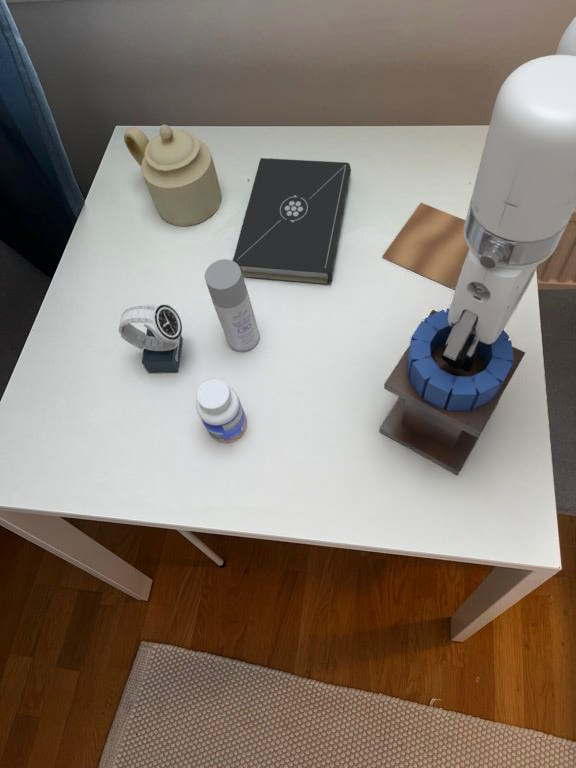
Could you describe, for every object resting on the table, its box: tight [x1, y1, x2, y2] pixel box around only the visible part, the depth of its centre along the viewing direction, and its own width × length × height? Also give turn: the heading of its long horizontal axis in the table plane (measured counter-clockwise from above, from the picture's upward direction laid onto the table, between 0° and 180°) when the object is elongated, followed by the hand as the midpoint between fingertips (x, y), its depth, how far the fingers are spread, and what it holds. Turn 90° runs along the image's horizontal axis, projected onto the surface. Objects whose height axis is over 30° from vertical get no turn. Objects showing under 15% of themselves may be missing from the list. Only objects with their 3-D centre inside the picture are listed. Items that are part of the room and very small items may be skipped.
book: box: [232, 157, 352, 286], centre depth 90 cm, size 22×15×3 cm
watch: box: [118, 303, 184, 374], centre depth 78 cm, size 6×8×11 cm
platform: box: [379, 309, 526, 476], centre depth 68 cm, size 11×11×14 cm
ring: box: [407, 307, 514, 411], centre depth 60 cm, size 10×10×4 cm
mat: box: [381, 202, 469, 291], centre depth 86 cm, size 12×12×1 cm
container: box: [204, 259, 261, 353], centre depth 76 cm, size 5×5×15 cm
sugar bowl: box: [123, 124, 222, 227], centre depth 89 cm, size 15×11×15 cm
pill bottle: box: [195, 378, 248, 443], centre depth 73 cm, size 5×5×10 cm
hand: (474, 334), depth 62 cm, fingers open, 7 cm apart
